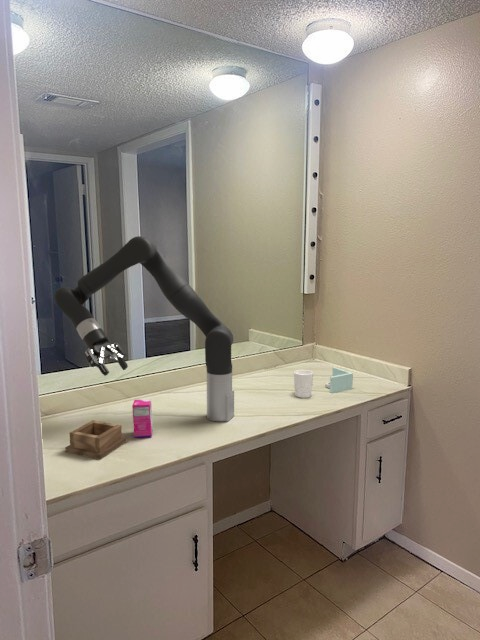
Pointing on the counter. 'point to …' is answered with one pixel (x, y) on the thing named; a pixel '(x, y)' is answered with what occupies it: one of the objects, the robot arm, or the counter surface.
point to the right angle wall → (340, 380)
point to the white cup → (303, 383)
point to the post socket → (95, 439)
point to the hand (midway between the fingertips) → (116, 371)
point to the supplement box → (142, 418)
